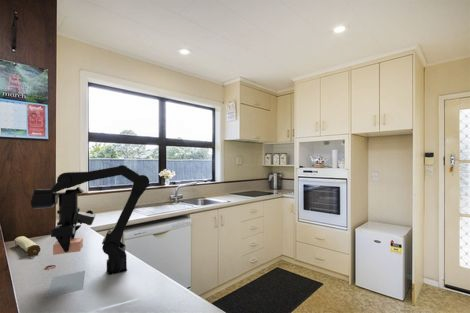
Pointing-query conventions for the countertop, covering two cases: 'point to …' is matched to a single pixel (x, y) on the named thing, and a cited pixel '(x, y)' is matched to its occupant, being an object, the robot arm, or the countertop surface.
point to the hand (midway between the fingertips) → (68, 249)
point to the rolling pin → (27, 245)
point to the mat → (66, 284)
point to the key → (50, 267)
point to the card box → (74, 246)
